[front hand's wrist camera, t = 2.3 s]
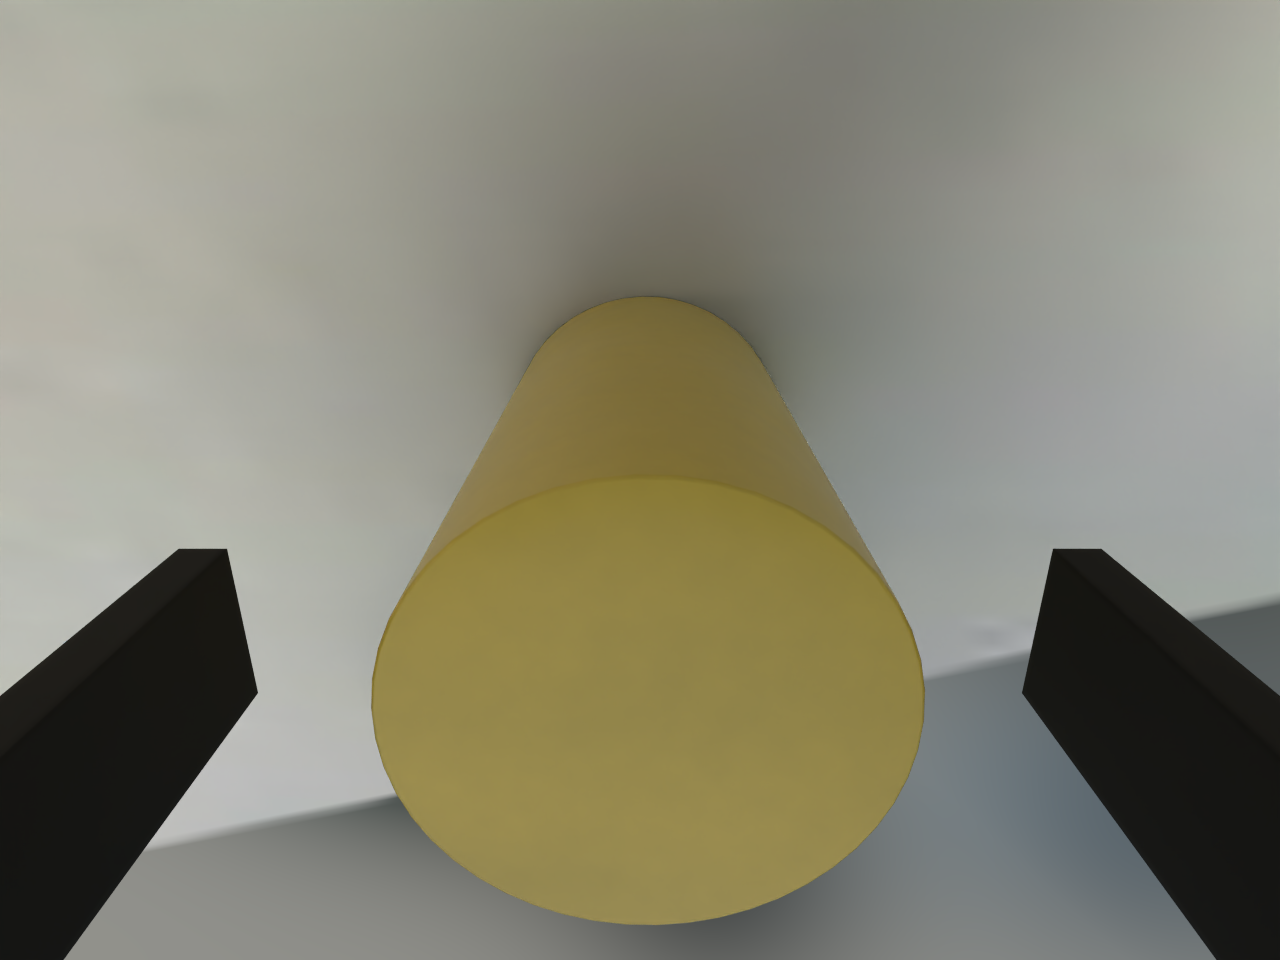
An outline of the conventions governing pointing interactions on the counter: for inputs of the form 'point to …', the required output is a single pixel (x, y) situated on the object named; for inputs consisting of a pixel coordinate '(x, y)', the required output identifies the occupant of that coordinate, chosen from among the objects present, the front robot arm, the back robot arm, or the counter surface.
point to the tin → (647, 639)
